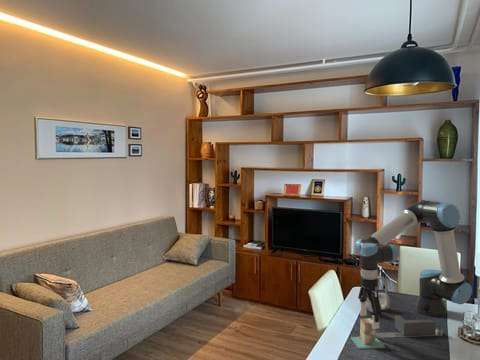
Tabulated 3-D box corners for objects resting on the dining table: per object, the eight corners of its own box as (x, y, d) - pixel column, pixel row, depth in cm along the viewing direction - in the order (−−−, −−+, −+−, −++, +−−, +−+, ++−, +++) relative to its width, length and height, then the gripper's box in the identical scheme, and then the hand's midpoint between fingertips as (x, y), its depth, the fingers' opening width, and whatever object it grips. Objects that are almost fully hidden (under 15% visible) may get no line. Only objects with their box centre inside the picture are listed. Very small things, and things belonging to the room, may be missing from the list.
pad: (375, 337, 180) (375, 336, 180) (384, 347, 171) (384, 346, 171) (350, 338, 180) (350, 337, 180) (358, 349, 170) (358, 347, 170)
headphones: (374, 318, 201) (374, 282, 200) (359, 313, 209) (360, 277, 207) (393, 310, 212) (394, 275, 211) (379, 305, 220) (380, 271, 218)
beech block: (370, 338, 178) (370, 318, 177) (374, 344, 173) (375, 322, 172) (359, 339, 177) (360, 318, 177) (364, 344, 172) (364, 323, 172)
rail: (437, 331, 187) (437, 326, 187) (443, 335, 182) (443, 330, 182) (368, 333, 184) (368, 328, 184) (372, 338, 180) (372, 333, 180)
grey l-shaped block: (425, 325, 192) (425, 314, 191) (435, 334, 183) (435, 322, 182) (394, 327, 191) (394, 315, 190) (403, 335, 182) (404, 323, 181)
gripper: (351, 269, 187) (351, 311, 188) (373, 287, 162) (373, 334, 164) (365, 268, 187) (366, 310, 189) (389, 286, 163) (389, 333, 164)
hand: (369, 321), depth 176 cm, fingers open, 13 cm apart
